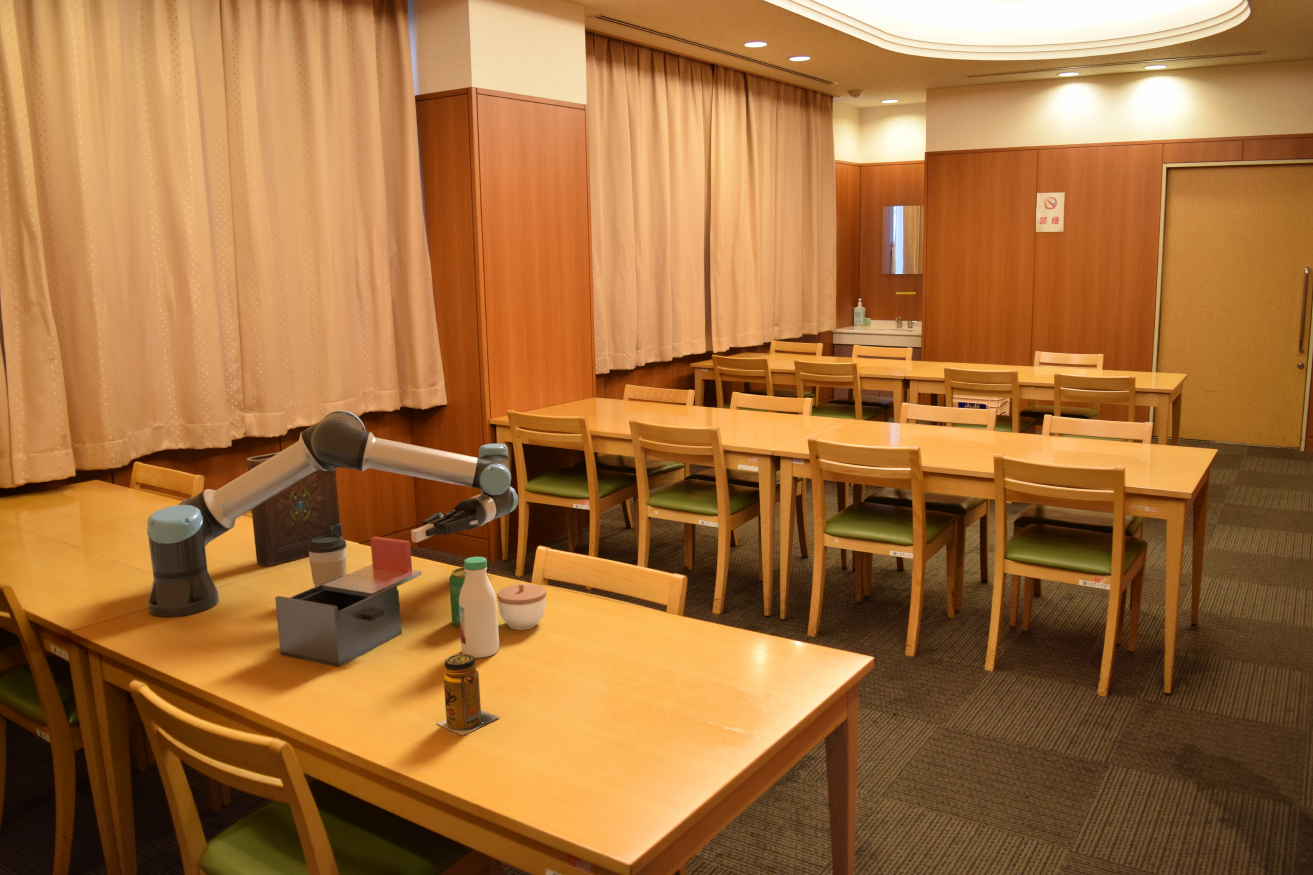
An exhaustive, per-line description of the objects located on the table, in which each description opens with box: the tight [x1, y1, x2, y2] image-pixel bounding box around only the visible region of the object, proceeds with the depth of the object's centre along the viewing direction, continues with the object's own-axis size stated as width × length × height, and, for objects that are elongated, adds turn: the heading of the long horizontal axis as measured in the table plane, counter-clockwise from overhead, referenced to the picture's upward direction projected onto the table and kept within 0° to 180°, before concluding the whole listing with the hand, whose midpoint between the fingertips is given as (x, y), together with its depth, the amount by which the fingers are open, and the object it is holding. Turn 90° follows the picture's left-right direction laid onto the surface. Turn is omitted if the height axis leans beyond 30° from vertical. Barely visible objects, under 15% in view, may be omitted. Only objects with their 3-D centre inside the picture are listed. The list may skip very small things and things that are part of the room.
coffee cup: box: [307, 534, 348, 587], centre depth 236 cm, size 9×9×15 cm
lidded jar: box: [496, 583, 547, 631], centre depth 215 cm, size 11×11×9 cm
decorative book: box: [246, 451, 344, 567], centre depth 268 cm, size 23×7×30 cm, turn 139°
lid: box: [322, 535, 422, 597], centre depth 214 cm, size 16×14×8 cm
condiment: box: [436, 653, 501, 736], centre depth 170 cm, size 7×8×12 cm
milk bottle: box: [459, 556, 500, 659], centre depth 200 cm, size 8×8×20 cm
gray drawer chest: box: [274, 576, 402, 668], centre depth 206 cm, size 19×21×12 cm
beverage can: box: [448, 566, 466, 629], centre depth 217 cm, size 8×8×12 cm
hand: (414, 536), depth 226 cm, fingers closed
